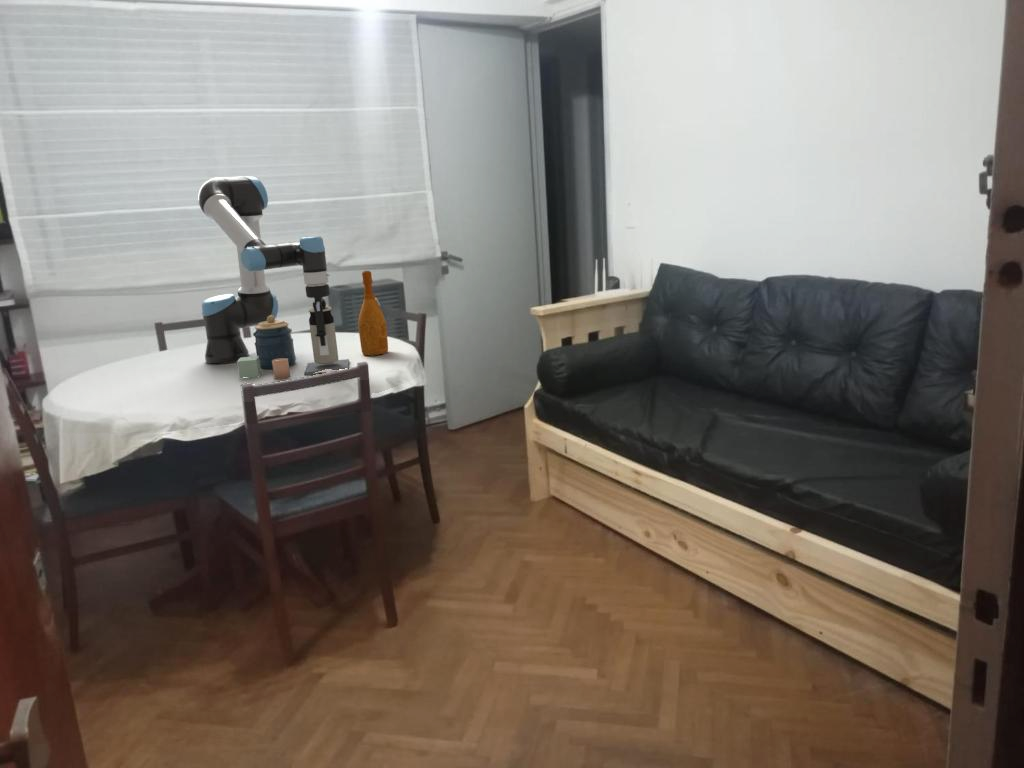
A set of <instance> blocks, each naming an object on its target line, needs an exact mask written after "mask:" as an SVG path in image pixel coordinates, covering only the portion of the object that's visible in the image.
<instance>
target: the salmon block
mask: <svg viewBox="0 0 1024 768" xmlns="http://www.w3.org/2000/svg"><path fill="white" fill-rule="evenodd" d="M272 366H273V369H272V371H273V372H272V373H273V377H274V380H276V379H277V380H276V381H280V380H281V381H282V380H287V379H289V378H291V372H290V371H291V369H290V366H289V363H288V358H278V359H274V360H272ZM279 379H280V380H279Z"/></svg>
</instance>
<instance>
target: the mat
mask: <svg viewBox="0 0 1024 768" xmlns="http://www.w3.org/2000/svg"><path fill="white" fill-rule="evenodd" d="M349 366H350V358H346V359H338V360H337V361H336V362H333V363H328V364H317V363H315V362H314V361H313V362H308V363H306V367H305V369H304V372H303V373H304V376H311V375H310V374H313V373H315V372H318V371H322V370H325V369H332V370H339V369H345V368H348V369H349Z"/></svg>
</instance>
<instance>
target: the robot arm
mask: <svg viewBox="0 0 1024 768" xmlns="http://www.w3.org/2000/svg"><path fill="white" fill-rule="evenodd" d="M268 197H269V196H268V193H267V190H266V187H265V185H264V184H263V182H262V181H261V180H260V179H259V178H257V177H255V176H245V175H243V176H232V177H231V176H229V177H228V176H227V177H222V176H221V177H213V178H210V179H209V180H208V179H207V181H205V182H204V183H203V184H202V185H201V187H200V189H199V191H198V197H197V199H198V205H199V207H200V209H201V211H202V213H204V215H205V216H206V217H207V218H208V219H211V220H213V221H214V222H215V223H216V224H217V225H218V227H220V229H221V230H222V231H223V232H224V233H225V235H226V236H227V237H228V238H229V239H230V241H232V243H233V245H235V246H236V252H237V260H238V268H239V269H238V270H239V278H240V287H239V288H238V289H237V296H235V295H234V294H233V293H225V294H220V295H215V296H212V297H209V298H206V299H205V300H203V302H202V303H201V310H202V311H201V312H202V313H201V314H202V317H203V322H204V327H205V335H206V340H207V341H206V348H205V353H204V359H205V363H206V362H207V363H206V364H209V363H223V364H231V363H237V362H236V361H238V360H239V359H240V358H241V357H250V354H249V352H250V351H249V349H248V348H247V345H246V344H245V342H244V340H243V338H242V335H241V329H244V328H250V327H255V326H257V325H258V323H260V322H264V321H267V317H268V316H270V315H272V316H274V318H275V319H276V318H277V317H278V313H279V302H278V299H277V296H276V294H274V292H271V288H270V287H269V286H267V284H266V278H265V270H272V269H273V270H274V269H279V268H288V267H289V268H290V267H296V266H299V267H302V270H303V271H302V272H303V280H304V284H305V285H306V286H305V294H306V298H308V299H314V301H313V303H312V308H314V310H315V313H314V314H315V318H316V327H317V334H316V336H318V341H319V348H320V356H321V355H329V351H328V343H327V335H326V331H325V322H324V315H325V313H324V314H323V310H324V309H325V308H326V307H327V302H326V300H325V297H329V296H330V294H331V293H330V285H329V284H328V282H329V277H330V273H329V272H328V269H327V267H328V266H327V259H326V248H325V245H324V239H323V237H322V236H317V235H316V236H312V235H311V236H303V237H300V239H299V242H296V241H293V242H291V241H289V242H285V243H280V244H270V245H269V244H268V245H267V244H266V243H265V242H264V240H262V238H261V237H262V236H261V228H260V219H261V218H262V217H263V216H264V214H263V211H264V210H265V209H266V208H267V207H268V203H269V198H268ZM319 331H320V332H319ZM230 362H231V363H230Z"/></svg>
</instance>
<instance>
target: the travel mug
mask: <svg viewBox="0 0 1024 768" xmlns="http://www.w3.org/2000/svg"><path fill="white" fill-rule="evenodd" d="M332 308H333V307H331V306H326V308H325V309H324V310H323V314H324V313H325V315H324V322H325V331H326V335H327V343H328V351H329V355H321V356H320V348H319V341H318V336H316V334H317V327H316V318H315V314H314V313H315V310H314V308H313V307H312V308H309V309H308V312H309V315H310V316H309V319H308V323H309V331H310V338H311V346H312V352H313V353H312V354H313V359H314V361H313V362H315V363H317V364H328V363H333V362H336V361H337V360H339V353H338V352H339V351H338V344H337V336H336V327H335V320H334V318H335V317H334V316H333V315H332ZM319 332H320V331H319Z"/></svg>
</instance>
